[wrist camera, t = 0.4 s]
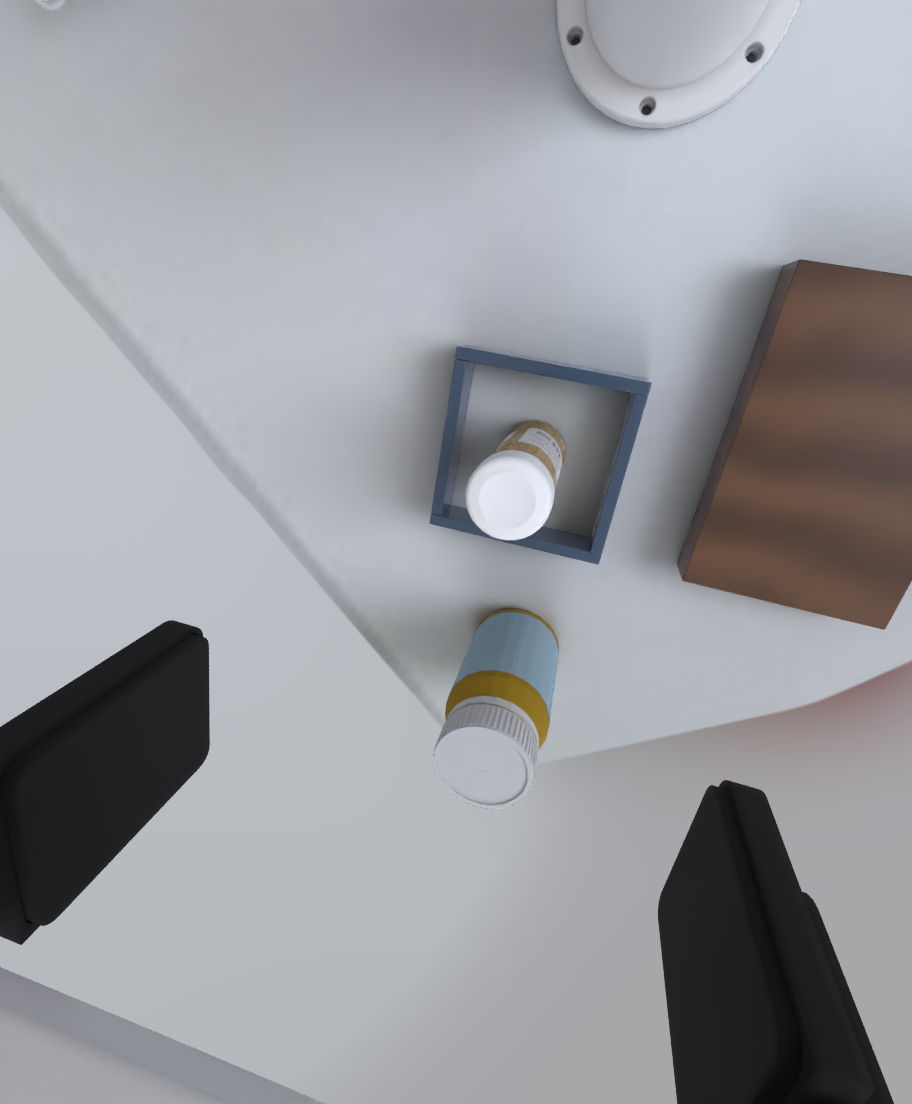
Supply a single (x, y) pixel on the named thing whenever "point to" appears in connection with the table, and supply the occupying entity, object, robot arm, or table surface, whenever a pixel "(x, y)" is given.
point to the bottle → (498, 711)
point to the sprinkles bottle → (517, 482)
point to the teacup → (51, 4)
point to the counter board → (817, 453)
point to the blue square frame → (469, 355)
